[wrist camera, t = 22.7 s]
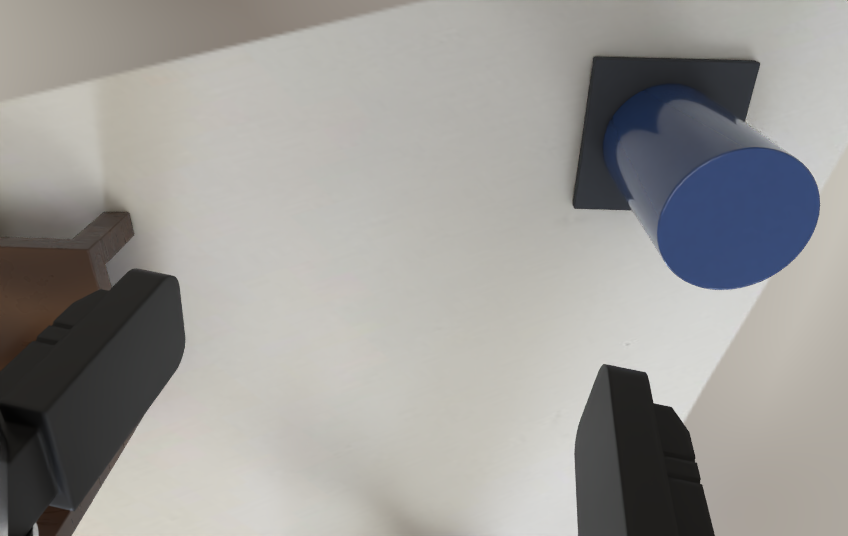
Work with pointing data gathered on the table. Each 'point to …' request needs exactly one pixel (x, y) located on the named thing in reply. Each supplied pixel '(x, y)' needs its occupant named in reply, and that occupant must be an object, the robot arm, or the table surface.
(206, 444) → the table surface
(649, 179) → the canister
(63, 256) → the miniature wooden chair
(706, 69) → the mat
